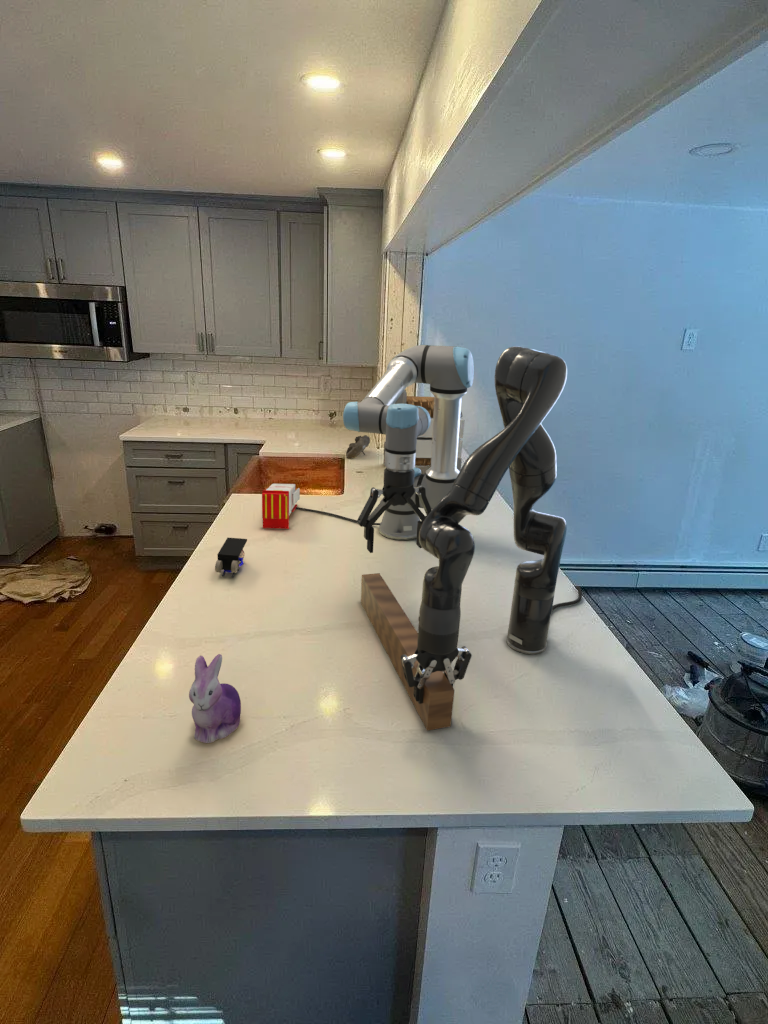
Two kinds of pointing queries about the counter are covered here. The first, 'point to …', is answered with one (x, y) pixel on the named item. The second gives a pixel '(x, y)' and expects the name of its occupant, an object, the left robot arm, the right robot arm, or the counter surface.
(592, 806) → the counter surface
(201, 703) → the figurine
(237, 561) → the figurine character
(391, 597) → the beam
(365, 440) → the fossil
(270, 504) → the toy
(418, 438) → the slatted crate
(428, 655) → the right robot arm
